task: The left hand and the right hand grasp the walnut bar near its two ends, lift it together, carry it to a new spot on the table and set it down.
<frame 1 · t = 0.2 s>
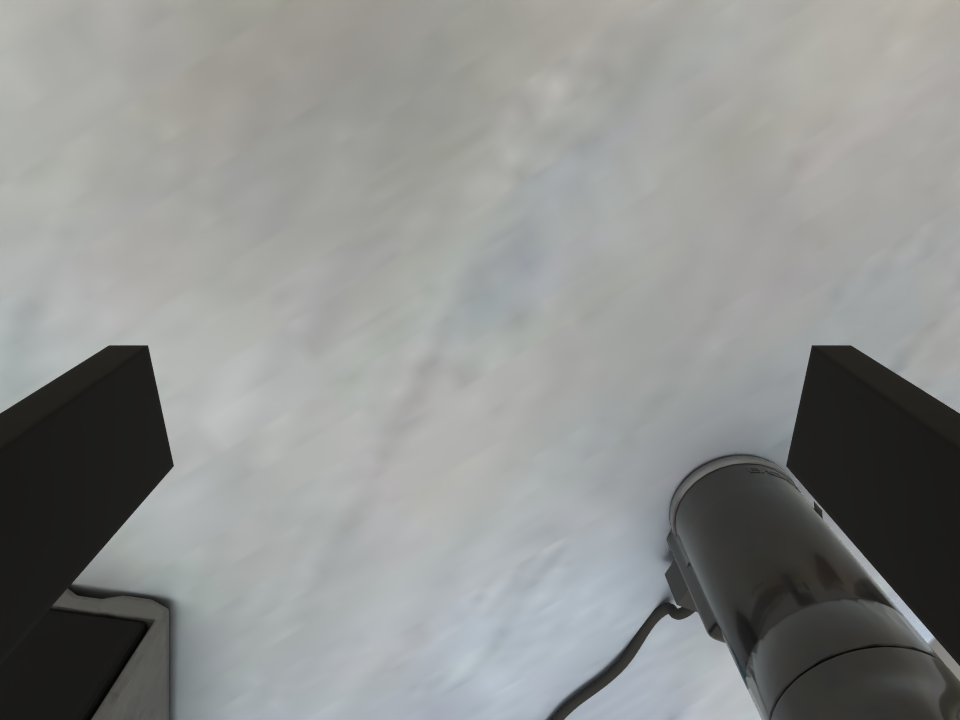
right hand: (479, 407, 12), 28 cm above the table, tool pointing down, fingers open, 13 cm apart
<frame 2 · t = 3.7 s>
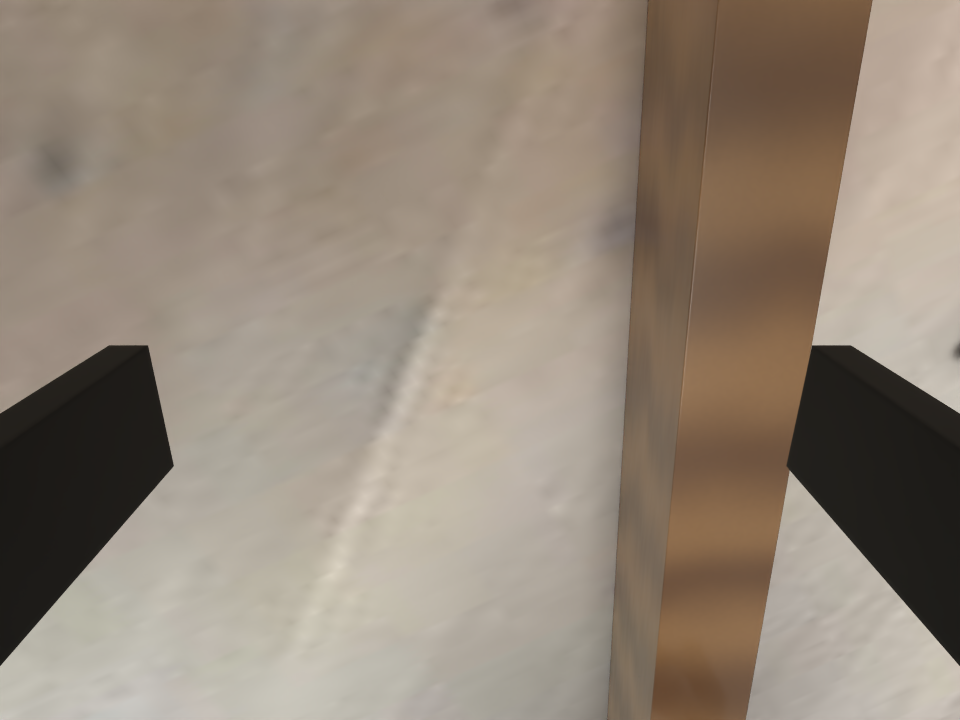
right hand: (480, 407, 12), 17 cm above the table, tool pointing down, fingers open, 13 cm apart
bar: (671, 373, 31), on the table
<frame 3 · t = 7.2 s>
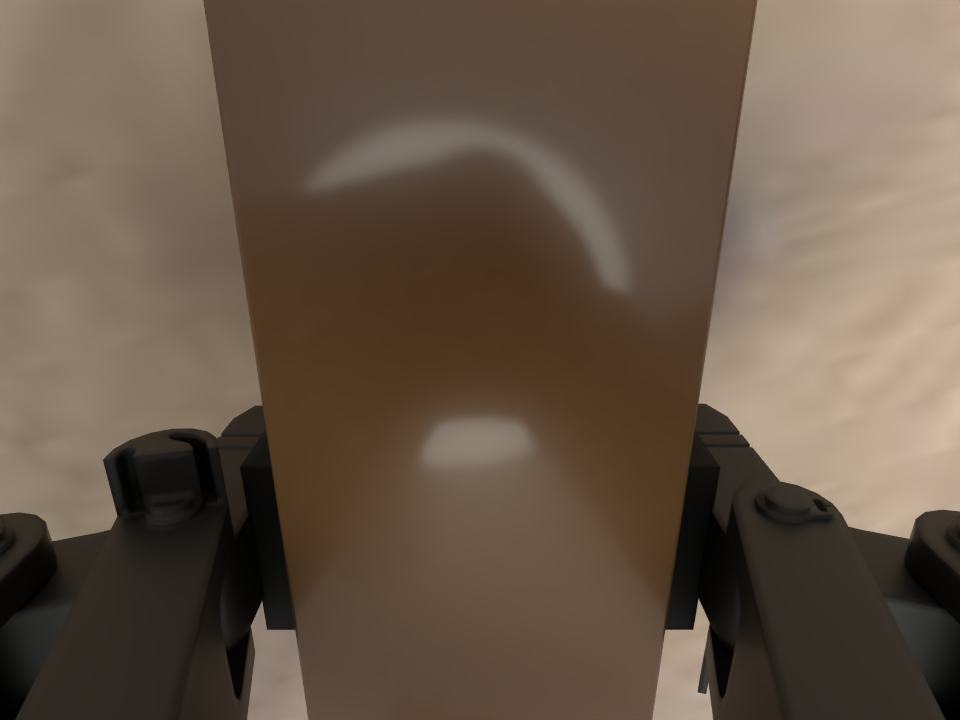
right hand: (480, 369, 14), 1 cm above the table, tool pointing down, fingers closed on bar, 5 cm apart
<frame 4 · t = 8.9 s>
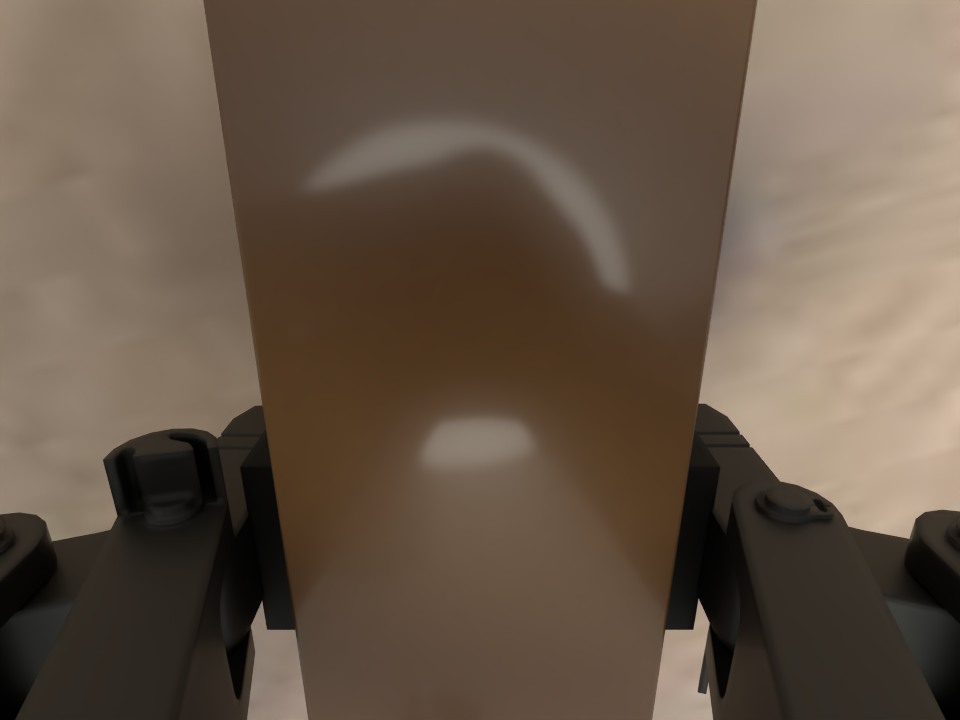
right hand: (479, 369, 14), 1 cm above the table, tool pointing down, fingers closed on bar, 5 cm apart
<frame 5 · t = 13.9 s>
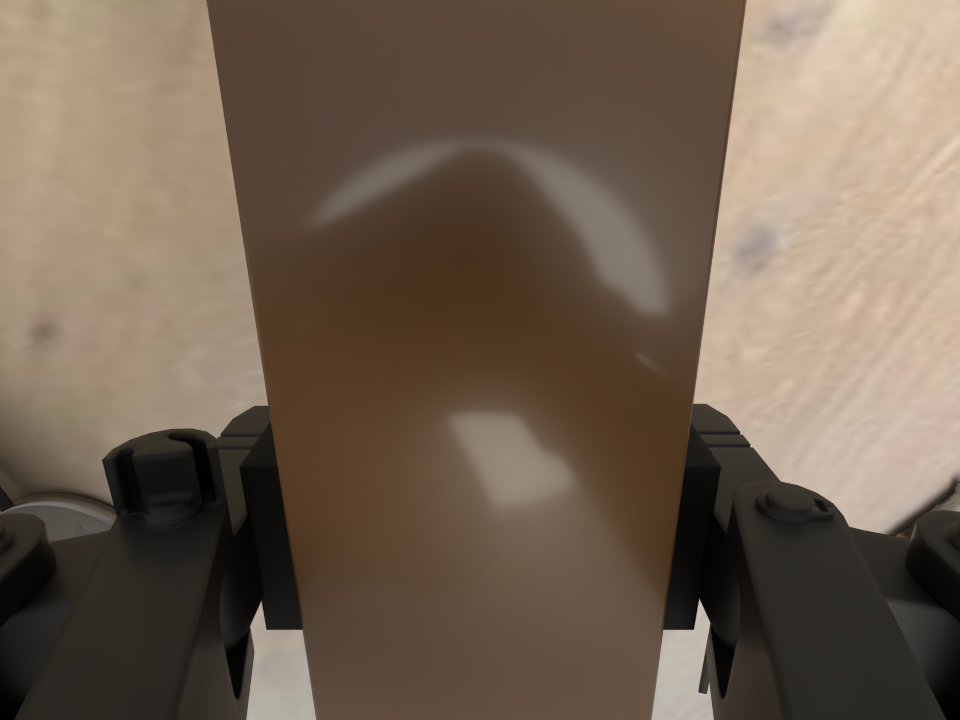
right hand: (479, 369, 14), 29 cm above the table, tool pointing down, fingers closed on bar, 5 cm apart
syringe: (940, 505, 50), on the table
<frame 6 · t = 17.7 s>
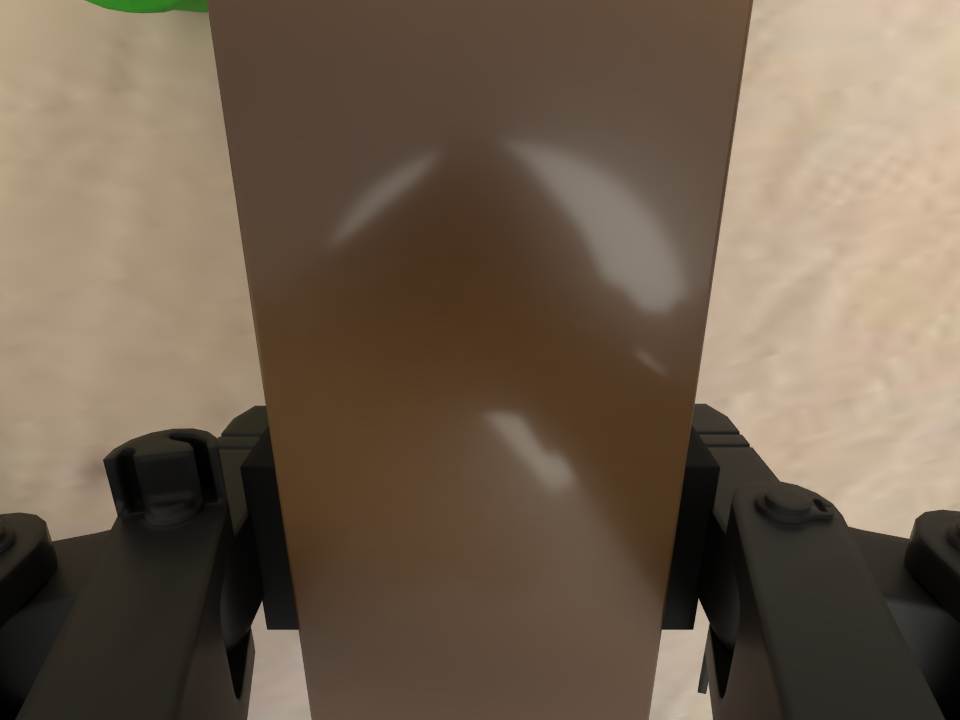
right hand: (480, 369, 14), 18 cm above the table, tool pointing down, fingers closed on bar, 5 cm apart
when the right hand's fingers open (2 cm above the table, at t = 20.8 s): bar drops 1 cm, on the table.
when the left hand's fingers open (4 cm above the table, at t = 21.0 s): bar stays where it is, on the table.
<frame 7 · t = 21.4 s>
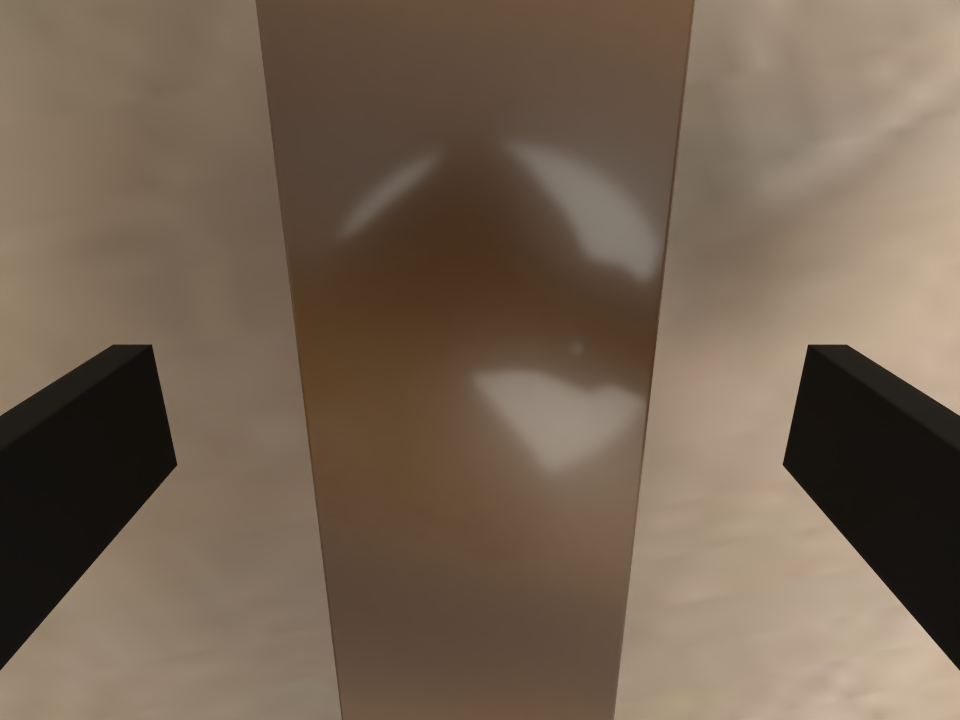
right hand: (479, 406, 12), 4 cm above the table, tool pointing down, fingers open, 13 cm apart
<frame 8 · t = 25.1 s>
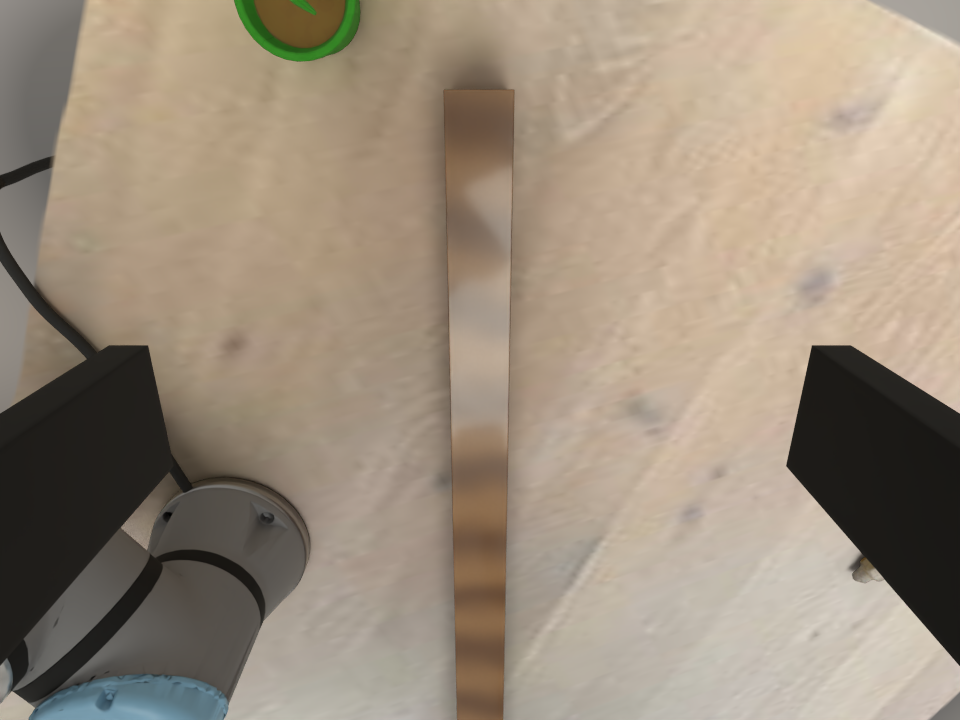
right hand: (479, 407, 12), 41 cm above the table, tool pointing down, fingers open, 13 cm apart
bar: (479, 488, 61), on the table
potted flower: (316, 7, 45), on the table
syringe: (955, 493, 61), on the table
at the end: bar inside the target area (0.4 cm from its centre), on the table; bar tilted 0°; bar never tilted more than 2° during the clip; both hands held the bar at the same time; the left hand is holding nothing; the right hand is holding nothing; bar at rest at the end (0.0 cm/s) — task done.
